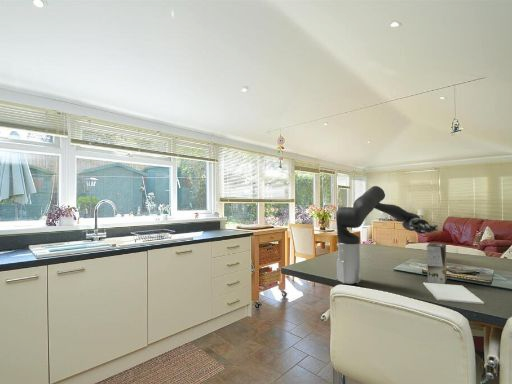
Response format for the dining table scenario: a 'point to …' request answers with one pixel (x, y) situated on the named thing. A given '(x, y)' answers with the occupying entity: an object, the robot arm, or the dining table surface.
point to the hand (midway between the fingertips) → (429, 230)
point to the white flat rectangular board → (452, 293)
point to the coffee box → (436, 263)
